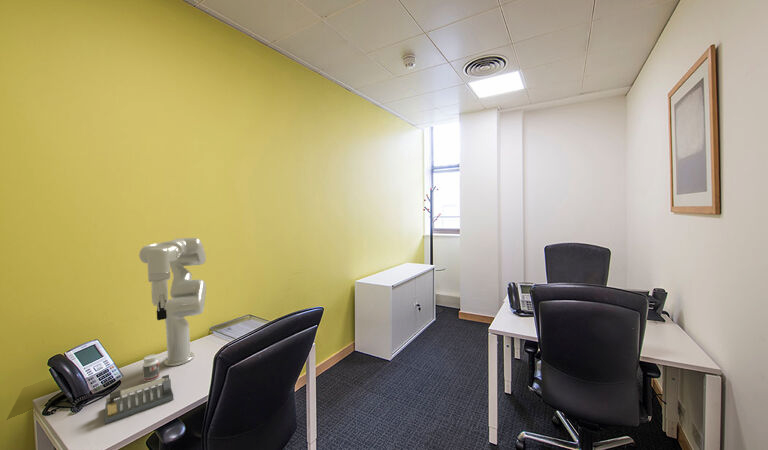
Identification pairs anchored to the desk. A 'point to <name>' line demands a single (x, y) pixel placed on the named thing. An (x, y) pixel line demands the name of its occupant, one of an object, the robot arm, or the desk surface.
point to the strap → (136, 388)
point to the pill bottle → (150, 368)
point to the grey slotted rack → (138, 401)
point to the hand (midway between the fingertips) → (161, 319)
